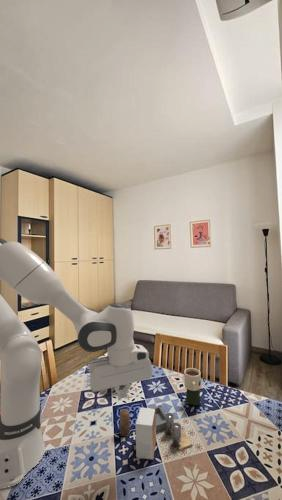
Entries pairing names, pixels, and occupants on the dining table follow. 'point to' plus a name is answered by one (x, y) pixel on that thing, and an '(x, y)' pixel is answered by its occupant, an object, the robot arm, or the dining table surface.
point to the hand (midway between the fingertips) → (122, 397)
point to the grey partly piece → (160, 418)
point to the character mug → (192, 385)
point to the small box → (146, 433)
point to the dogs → (176, 433)
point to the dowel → (124, 422)
